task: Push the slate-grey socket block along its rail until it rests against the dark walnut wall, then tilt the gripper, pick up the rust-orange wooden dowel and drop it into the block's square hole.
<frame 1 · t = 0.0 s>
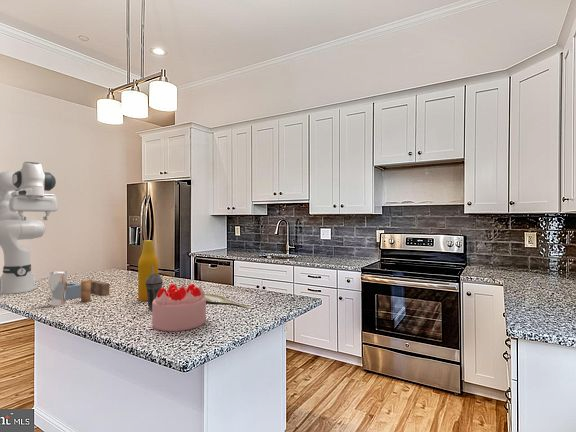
hand: (34, 220, 174), 39 cm above the countertop, tool pointing down, fingers open, 8 cm apart
dowel: (85, 301, 165), on the countertop
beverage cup: (154, 309, 153), on the countertop
beer glass: (58, 305, 159), on the countertop
spoon: (226, 304, 162), on the countertop
backstop wall: (96, 293, 183), on the countertop
cake: (179, 324, 132), on the countertop
socket block: (68, 291, 173), point 3 cm above the countertop, slide at 0.0 cm
beer bottle: (148, 299, 170), on the countertop
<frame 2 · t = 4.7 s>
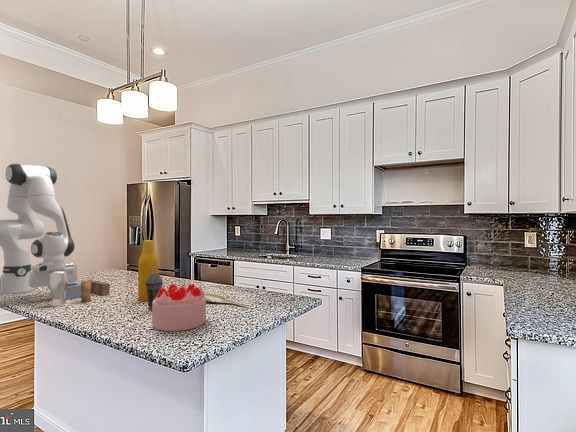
hand: (54, 293, 168), 3 cm above the countertop, tool pointing down, fingers closed
socket block: (70, 290, 174), point 3 cm above the countertop, slide at 1.0 cm, touching gripper
everything else where it was.
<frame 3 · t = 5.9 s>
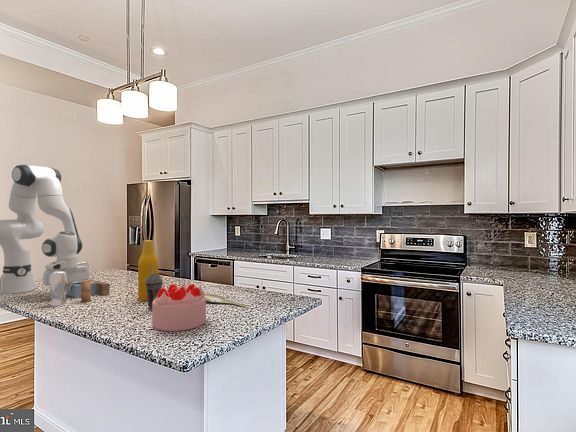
hand: (67, 291, 173), 3 cm above the countertop, tool pointing down, fingers closed
socket block: (81, 288, 179), point 3 cm above the countertop, slide at 6.5 cm, touching backstop wall, gripper
everything else where it was.
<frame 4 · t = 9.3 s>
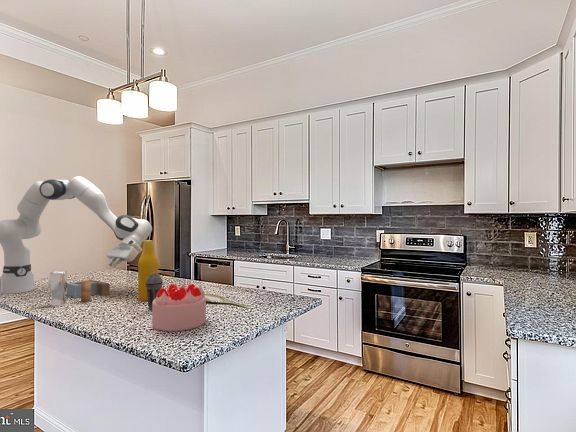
hand: (111, 266, 175), 16 cm above the countertop, tool tilted 45°, fingers closed
socket block: (81, 288, 179), point 3 cm above the countertop, slide at 6.5 cm
everything else where it was.
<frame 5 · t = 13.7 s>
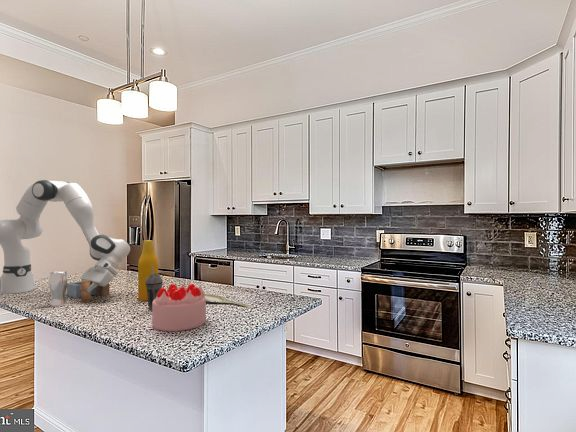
hand: (84, 290, 165), 5 cm above the countertop, tool tilted 45°, fingers closed on dowel, 4 cm apart
dowel: (85, 301, 165), on the countertop, touching gripper
when the fingers open (9 cm above the countertop, at t = 18.8 s): dowel drops 2 cm, resting on socket block.
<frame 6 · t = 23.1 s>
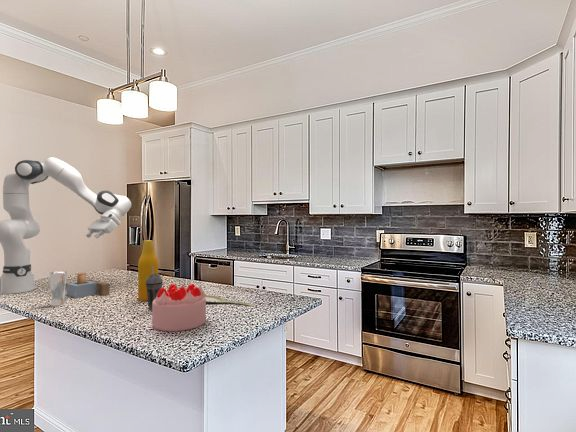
hand: (91, 237, 188), 29 cm above the countertop, tool tilted 45°, fingers open, 8 cm apart
dowel: (81, 292, 179), point 1 cm above the countertop, touching socket block
socket block: (81, 288, 179), point 3 cm above the countertop, slide at 6.5 cm, touching dowel
at the end: socket block slide at 6.5 cm; dowel 0.1 cm from the target spot, point 1.2 cm above the countertop; dowel tilted 1° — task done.
